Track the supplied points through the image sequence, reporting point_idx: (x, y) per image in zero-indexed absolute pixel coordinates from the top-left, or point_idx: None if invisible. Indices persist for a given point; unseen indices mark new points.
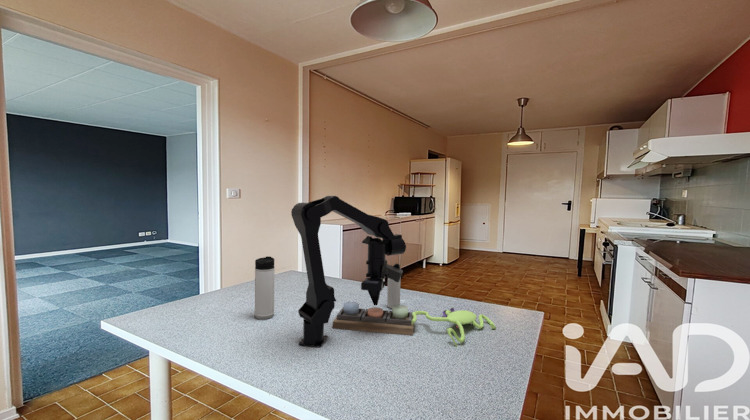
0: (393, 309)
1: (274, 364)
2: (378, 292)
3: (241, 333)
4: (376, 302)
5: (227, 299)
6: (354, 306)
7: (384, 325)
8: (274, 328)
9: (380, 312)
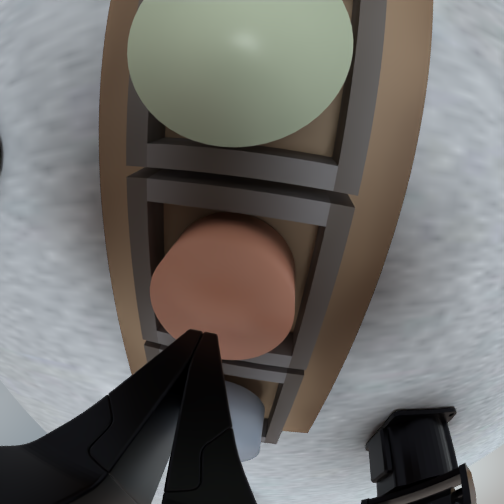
0: (296, 129)
1: (483, 437)
2: (250, 495)
3: (325, 498)
4: (221, 364)
5: (157, 499)
6: (247, 438)
7: (384, 201)
8: (301, 482)
9: (275, 266)
